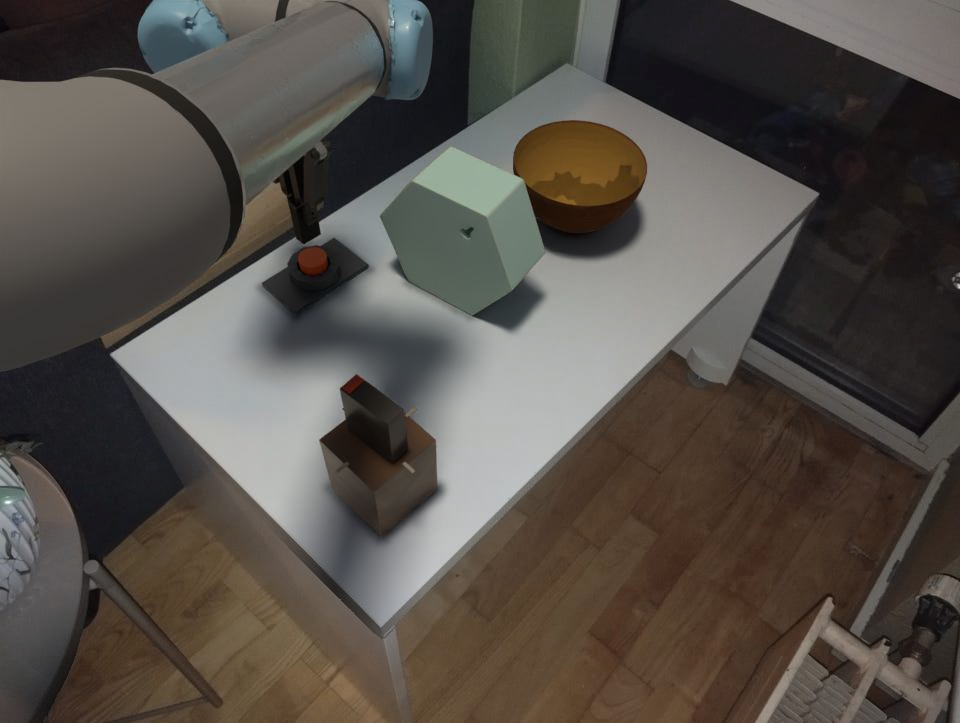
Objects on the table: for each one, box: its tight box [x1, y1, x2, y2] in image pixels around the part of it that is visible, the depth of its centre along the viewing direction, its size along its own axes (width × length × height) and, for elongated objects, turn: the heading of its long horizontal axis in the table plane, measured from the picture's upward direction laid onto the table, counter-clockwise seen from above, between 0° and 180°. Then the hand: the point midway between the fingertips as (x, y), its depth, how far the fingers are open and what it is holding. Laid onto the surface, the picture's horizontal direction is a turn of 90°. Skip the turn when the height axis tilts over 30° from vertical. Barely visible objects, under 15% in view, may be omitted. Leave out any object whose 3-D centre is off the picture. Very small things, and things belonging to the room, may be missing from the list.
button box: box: [261, 237, 369, 316], centre depth 99 cm, size 12×7×2 cm, turn 136°
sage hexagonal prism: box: [379, 146, 546, 316], centre depth 93 cm, size 17×8×21 cm
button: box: [298, 247, 328, 276], centre depth 98 cm, size 4×4×2 cm
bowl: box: [512, 119, 648, 234], centre depth 105 cm, size 18×18×10 cm
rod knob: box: [339, 373, 408, 464], centre depth 71 cm, size 6×2×7 cm, turn 51°
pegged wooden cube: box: [318, 406, 438, 538], centre depth 78 cm, size 10×10×10 cm
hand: (308, 236), depth 95 cm, fingers closed
